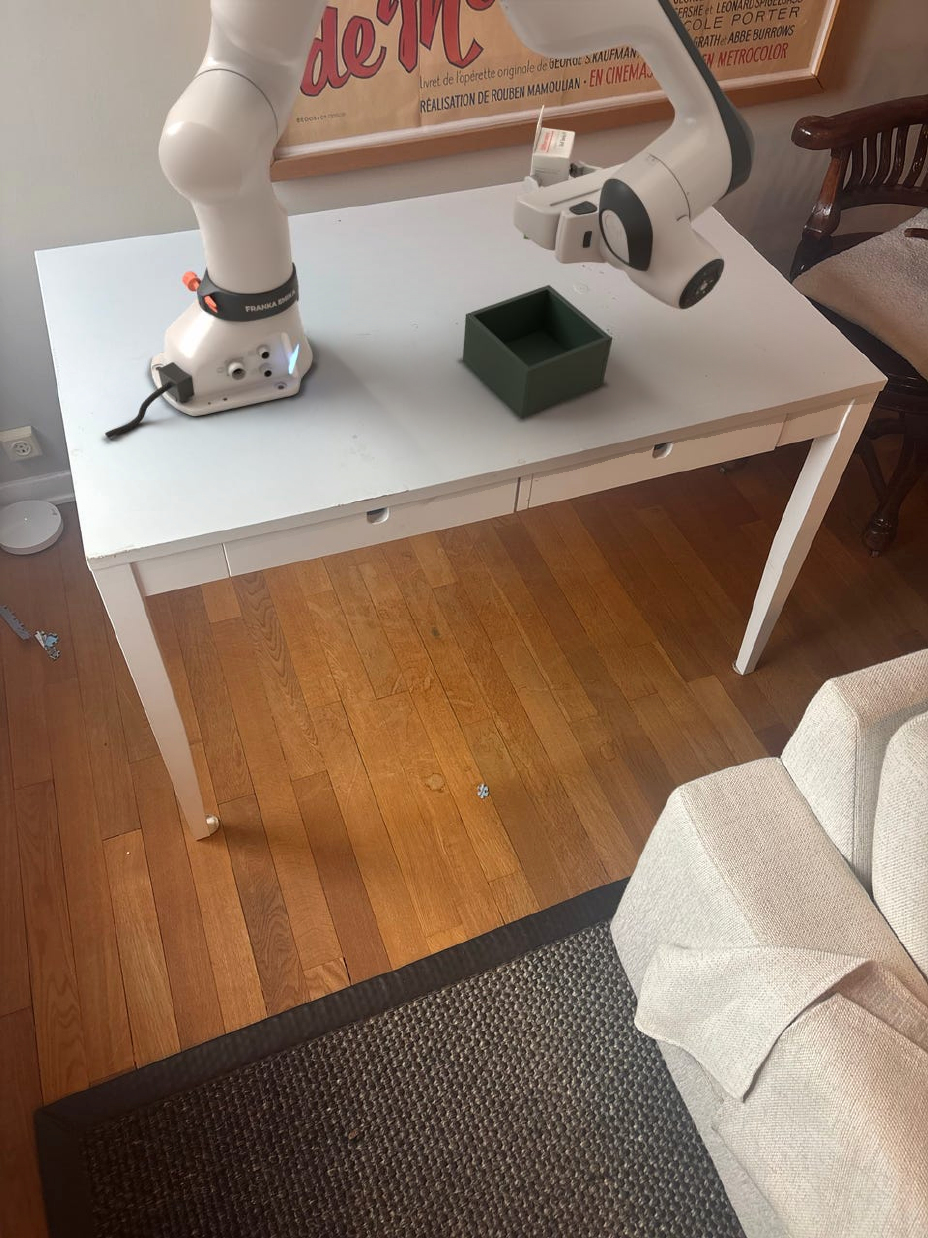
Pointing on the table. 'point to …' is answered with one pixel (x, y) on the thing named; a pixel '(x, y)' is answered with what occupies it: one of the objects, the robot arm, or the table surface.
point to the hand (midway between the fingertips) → (551, 173)
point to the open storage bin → (535, 350)
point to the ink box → (551, 155)
